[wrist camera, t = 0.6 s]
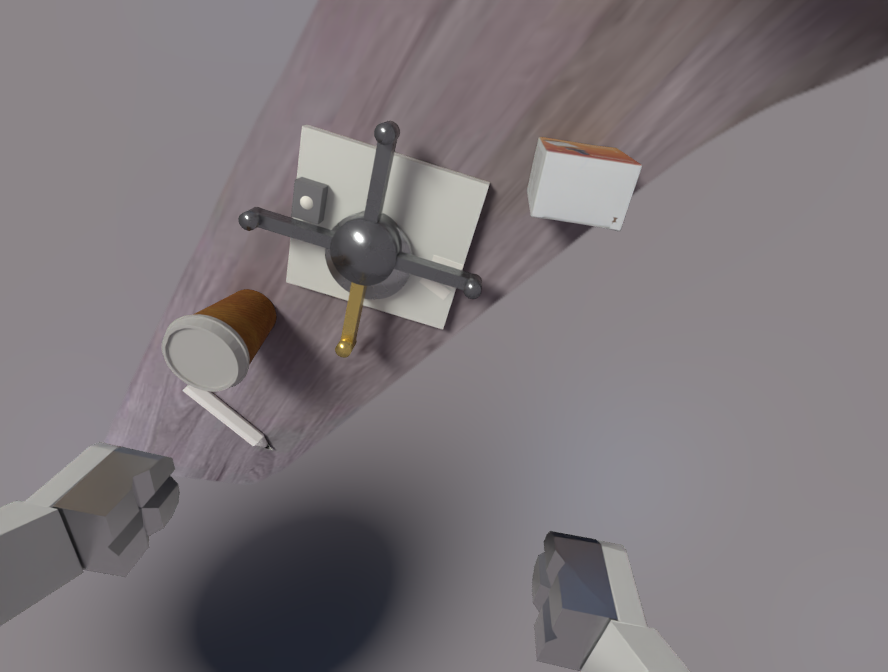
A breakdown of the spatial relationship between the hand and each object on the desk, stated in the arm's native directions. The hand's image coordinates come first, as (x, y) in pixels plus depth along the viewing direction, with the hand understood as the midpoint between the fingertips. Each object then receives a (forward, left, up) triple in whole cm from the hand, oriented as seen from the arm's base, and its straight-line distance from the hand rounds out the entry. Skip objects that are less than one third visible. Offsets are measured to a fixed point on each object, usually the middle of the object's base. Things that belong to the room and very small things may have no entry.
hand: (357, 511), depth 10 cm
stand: (+10, -8, -43) cm, 45 cm away
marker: (+45, -24, -44) cm, 67 cm away
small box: (-3, +10, -44) cm, 45 cm away
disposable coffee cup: (+25, -22, -44) cm, 55 cm away
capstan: (+10, -8, -42) cm, 44 cm away
